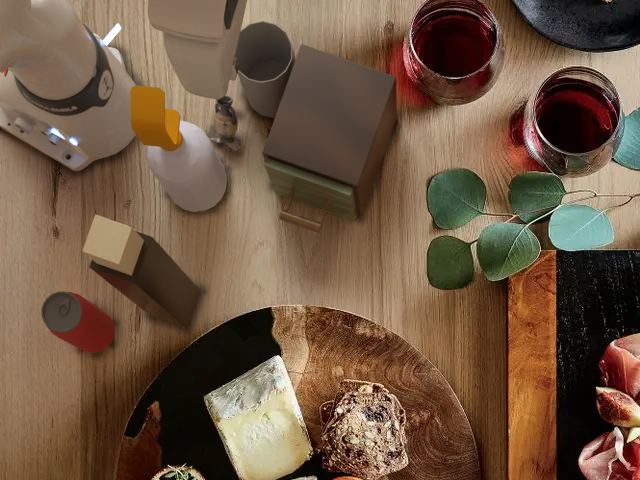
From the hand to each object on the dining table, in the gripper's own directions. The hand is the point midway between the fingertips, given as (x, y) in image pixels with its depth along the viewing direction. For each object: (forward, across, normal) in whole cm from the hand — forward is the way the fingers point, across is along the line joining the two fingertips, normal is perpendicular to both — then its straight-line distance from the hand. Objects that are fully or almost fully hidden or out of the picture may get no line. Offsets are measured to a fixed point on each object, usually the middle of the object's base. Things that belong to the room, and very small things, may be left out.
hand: (240, 26), depth 81 cm
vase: (+41, -7, -11) cm, 43 cm away
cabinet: (+41, -7, +5) cm, 42 cm away
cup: (+41, -14, -6) cm, 44 cm away
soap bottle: (+41, +2, -14) cm, 44 cm away
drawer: (+40, -3, +4) cm, 40 cm away
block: (+17, +20, -14) cm, 30 cm away
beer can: (+41, +27, -25) cm, 55 cm away
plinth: (+41, +20, -14) cm, 48 cm away
